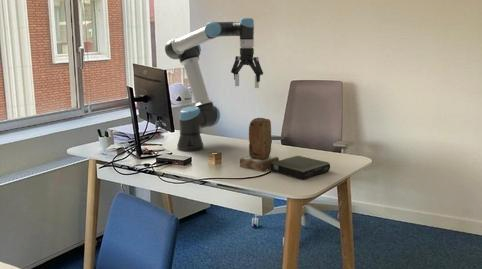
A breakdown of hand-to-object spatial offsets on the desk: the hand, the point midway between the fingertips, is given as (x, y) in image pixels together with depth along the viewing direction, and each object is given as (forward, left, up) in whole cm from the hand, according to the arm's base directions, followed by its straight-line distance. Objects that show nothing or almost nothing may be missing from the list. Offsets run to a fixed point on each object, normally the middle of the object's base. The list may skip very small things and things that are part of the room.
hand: (246, 87), depth 288 cm
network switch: (+44, -14, -37) cm, 59 cm away
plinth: (+22, -18, -37) cm, 46 cm away
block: (+22, -18, -33) cm, 43 cm away
